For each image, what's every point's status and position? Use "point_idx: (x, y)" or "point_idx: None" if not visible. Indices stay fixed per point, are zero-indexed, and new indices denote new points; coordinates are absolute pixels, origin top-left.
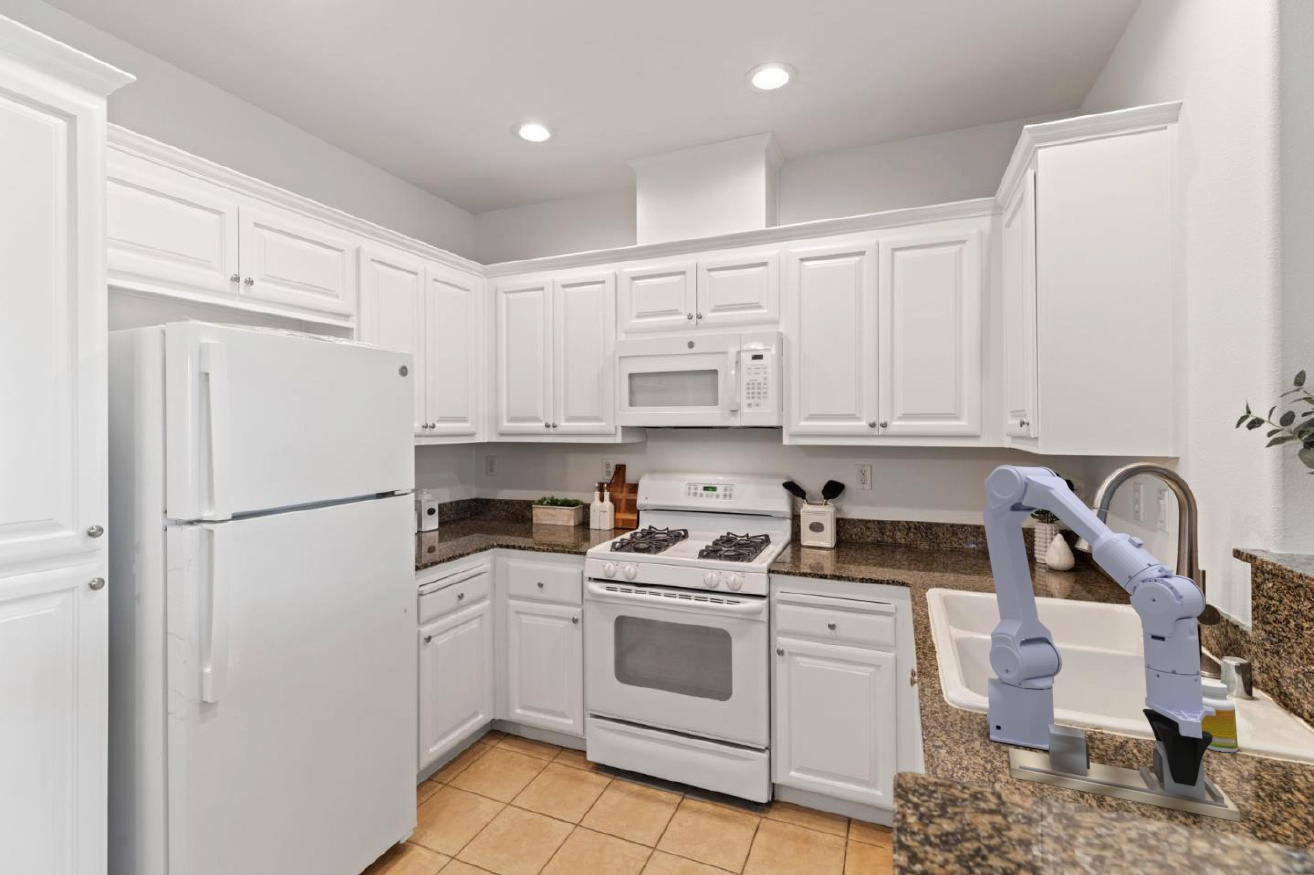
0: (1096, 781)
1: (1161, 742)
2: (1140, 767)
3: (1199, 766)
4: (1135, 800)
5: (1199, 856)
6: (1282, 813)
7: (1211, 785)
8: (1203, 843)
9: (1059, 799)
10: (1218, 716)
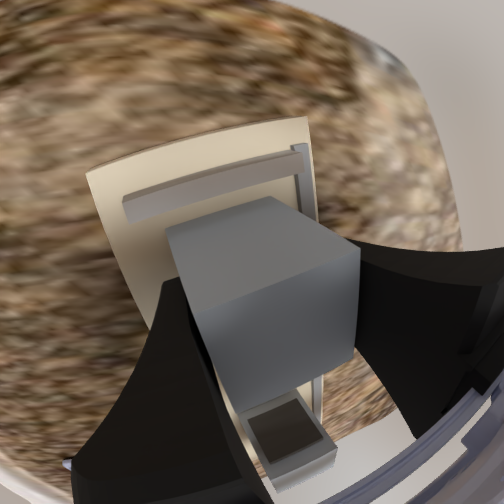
0: None
1: (245, 398)
2: None
3: (366, 244)
4: None
5: (442, 201)
6: (128, 14)
7: (207, 186)
8: (415, 195)
9: (358, 366)
10: None
